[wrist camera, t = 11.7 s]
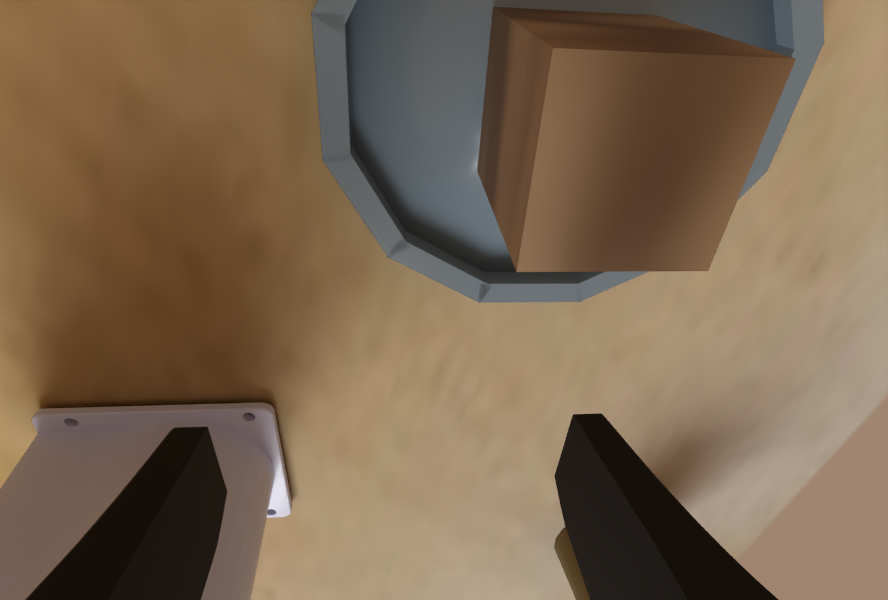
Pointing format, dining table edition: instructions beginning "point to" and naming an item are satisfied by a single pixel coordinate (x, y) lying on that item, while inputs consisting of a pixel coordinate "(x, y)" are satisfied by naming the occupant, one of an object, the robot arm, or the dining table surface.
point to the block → (619, 137)
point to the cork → (570, 565)
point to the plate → (460, 119)
